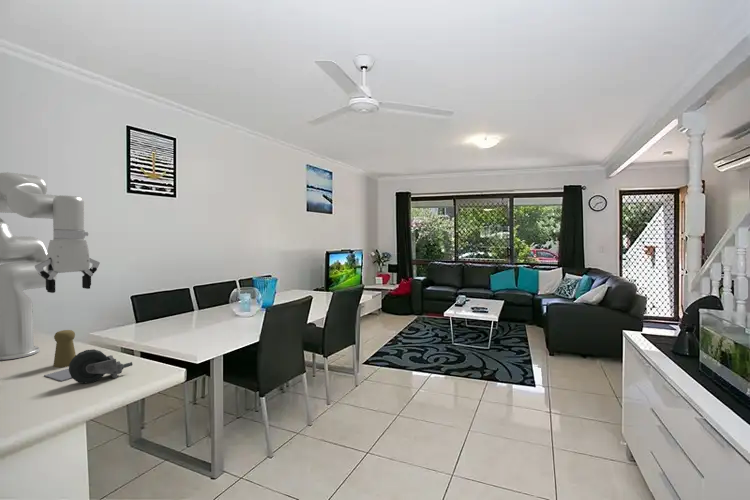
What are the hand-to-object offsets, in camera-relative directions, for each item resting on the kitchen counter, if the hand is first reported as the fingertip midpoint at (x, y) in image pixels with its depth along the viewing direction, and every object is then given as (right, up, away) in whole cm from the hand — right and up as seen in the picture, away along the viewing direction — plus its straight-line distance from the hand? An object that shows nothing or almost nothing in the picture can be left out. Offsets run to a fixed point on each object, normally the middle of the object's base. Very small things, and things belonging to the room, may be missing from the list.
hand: (69, 290), depth 122 cm
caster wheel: (+16, -25, -8) cm, 31 cm away
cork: (-4, -24, +3) cm, 25 cm away
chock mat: (+4, -25, -4) cm, 25 cm away
